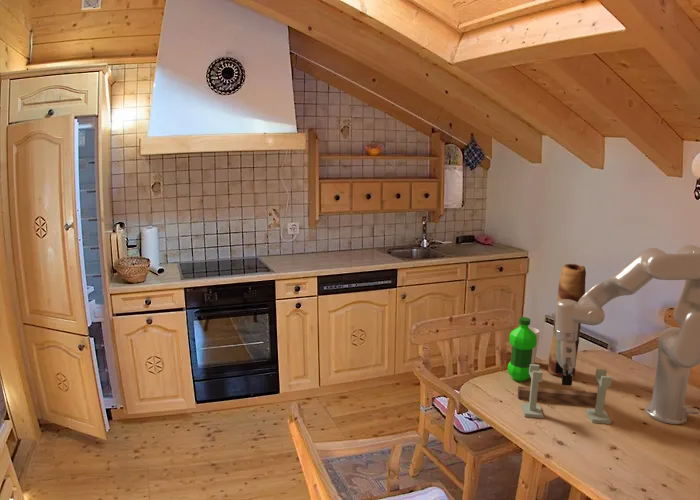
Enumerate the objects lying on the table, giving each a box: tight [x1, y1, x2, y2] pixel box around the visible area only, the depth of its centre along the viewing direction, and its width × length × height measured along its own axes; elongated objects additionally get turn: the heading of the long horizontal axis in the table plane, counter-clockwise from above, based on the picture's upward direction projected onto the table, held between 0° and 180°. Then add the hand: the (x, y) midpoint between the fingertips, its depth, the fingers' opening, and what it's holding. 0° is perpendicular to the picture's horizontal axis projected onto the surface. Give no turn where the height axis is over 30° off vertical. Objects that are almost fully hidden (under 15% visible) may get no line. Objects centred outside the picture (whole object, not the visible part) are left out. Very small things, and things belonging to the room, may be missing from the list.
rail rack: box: [520, 363, 613, 425], centre depth 178 cm, size 28×7×17 cm, turn 82°
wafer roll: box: [547, 263, 587, 378], centre depth 207 cm, size 10×11×45 cm
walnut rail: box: [517, 385, 597, 407], centre depth 189 cm, size 28×3×4 cm, turn 81°
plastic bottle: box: [507, 316, 537, 382], centre depth 204 cm, size 10×10×25 cm
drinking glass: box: [528, 326, 540, 364], centre depth 219 cm, size 7×7×15 cm
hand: (563, 378), depth 187 cm, fingers open, 9 cm apart
